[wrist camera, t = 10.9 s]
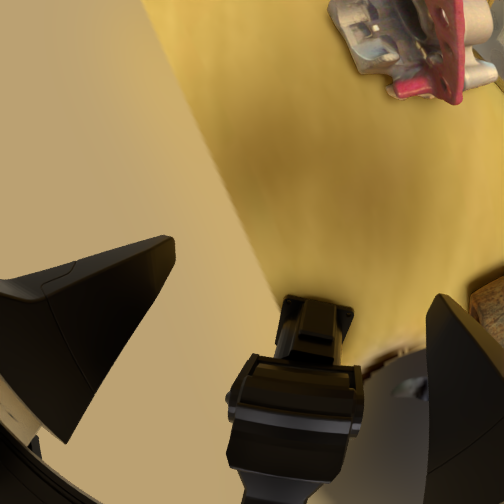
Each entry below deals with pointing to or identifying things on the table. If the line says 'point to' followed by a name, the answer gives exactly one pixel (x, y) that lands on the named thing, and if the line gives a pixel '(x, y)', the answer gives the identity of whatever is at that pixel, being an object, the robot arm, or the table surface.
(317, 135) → the table surface
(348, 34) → the brake caliper
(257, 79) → the table surface
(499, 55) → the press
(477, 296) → the wooden log
